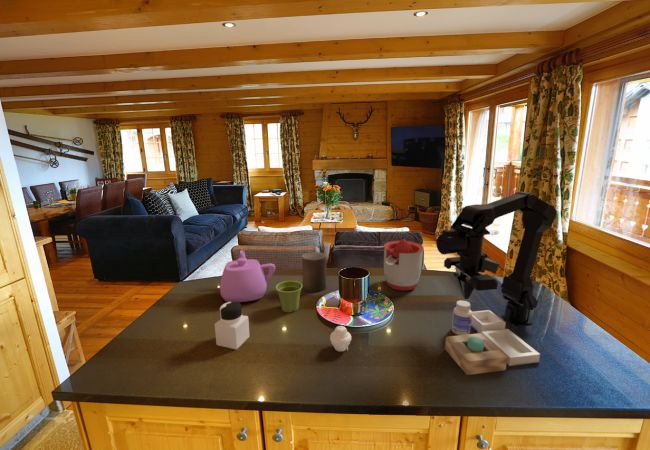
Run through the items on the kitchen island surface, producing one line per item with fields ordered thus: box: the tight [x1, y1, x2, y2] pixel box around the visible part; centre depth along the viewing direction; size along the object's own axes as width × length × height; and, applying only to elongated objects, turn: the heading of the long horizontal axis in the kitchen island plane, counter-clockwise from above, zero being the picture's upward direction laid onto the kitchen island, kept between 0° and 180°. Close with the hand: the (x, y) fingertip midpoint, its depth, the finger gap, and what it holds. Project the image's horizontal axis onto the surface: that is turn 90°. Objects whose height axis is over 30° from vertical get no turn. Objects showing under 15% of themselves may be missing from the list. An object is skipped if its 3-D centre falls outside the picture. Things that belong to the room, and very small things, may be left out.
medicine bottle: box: [214, 301, 250, 350], centre depth 98 cm, size 7×7×12 cm
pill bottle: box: [451, 300, 473, 336], centre depth 102 cm, size 5×5×10 cm
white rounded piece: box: [329, 325, 352, 352], centre depth 95 cm, size 6×6×7 cm
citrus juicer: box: [383, 238, 424, 292], centre depth 133 cm, size 16×17×20 cm
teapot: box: [219, 249, 276, 303], centre depth 130 cm, size 23×21×15 cm
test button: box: [467, 337, 484, 353], centre depth 90 cm, size 4×4×4 cm
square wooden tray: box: [444, 332, 508, 376], centre depth 90 cm, size 11×11×4 cm
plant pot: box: [275, 280, 303, 313], centre depth 117 cm, size 9×9×9 cm
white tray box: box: [471, 309, 507, 333], centre depth 105 cm, size 8×8×4 cm
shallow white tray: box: [481, 328, 541, 367], centre depth 94 cm, size 9×12×2 cm
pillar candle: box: [301, 251, 327, 293], centre depth 133 cm, size 10×10×15 cm
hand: (466, 298), depth 100 cm, fingers closed
